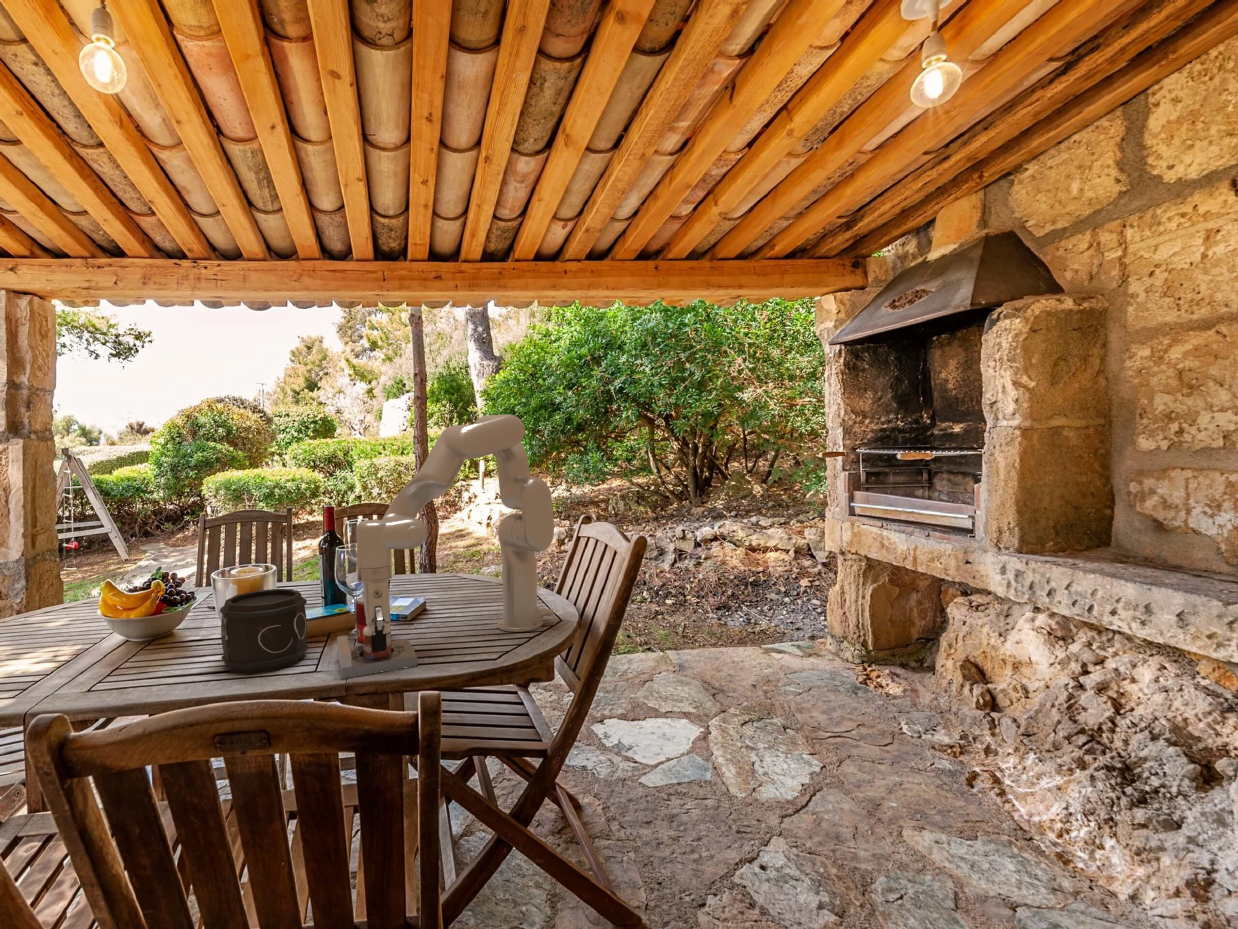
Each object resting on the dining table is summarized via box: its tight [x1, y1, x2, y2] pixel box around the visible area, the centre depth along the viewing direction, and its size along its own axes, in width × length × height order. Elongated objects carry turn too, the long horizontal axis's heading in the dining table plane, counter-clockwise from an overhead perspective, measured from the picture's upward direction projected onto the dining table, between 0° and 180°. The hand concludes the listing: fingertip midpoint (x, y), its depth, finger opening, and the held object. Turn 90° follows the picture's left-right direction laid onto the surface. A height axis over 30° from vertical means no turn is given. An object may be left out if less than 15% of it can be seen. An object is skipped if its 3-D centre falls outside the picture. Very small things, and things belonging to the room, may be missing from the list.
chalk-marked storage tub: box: [219, 588, 309, 675], centre depth 146 cm, size 18×18×16 cm
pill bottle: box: [362, 618, 392, 658], centre depth 144 cm, size 6×6×11 cm
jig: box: [337, 635, 418, 680], centre depth 144 cm, size 16×14×6 cm
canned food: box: [355, 595, 389, 644], centre depth 161 cm, size 8×8×11 cm
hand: (376, 644), depth 144 cm, fingers open, 9 cm apart
